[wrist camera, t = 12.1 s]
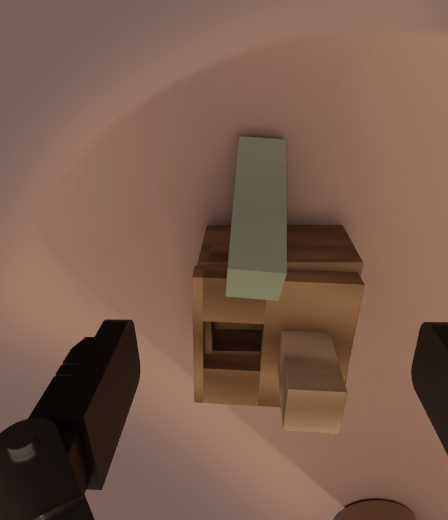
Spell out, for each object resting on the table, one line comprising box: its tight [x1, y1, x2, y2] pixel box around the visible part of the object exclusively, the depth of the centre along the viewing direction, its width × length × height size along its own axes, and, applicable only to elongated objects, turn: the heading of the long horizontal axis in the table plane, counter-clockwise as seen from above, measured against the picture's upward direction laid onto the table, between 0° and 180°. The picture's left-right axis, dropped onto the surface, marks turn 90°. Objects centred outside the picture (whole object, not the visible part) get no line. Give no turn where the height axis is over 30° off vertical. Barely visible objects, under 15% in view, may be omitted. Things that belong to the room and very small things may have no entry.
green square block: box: [226, 136, 287, 301], centre depth 24 cm, size 3×3×10 cm
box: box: [198, 225, 363, 386], centre depth 30 cm, size 10×10×6 cm
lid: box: [192, 265, 364, 434], centre depth 24 cm, size 10×10×6 cm
